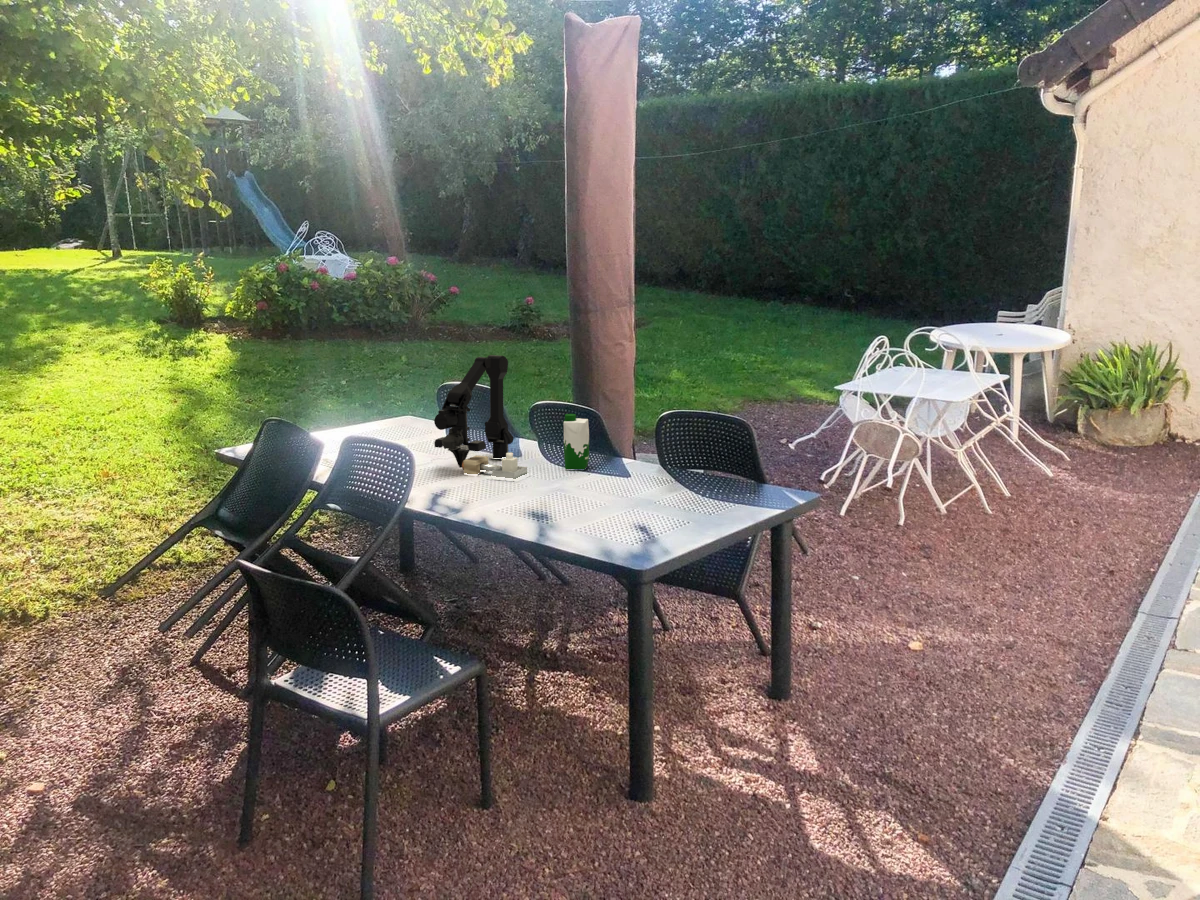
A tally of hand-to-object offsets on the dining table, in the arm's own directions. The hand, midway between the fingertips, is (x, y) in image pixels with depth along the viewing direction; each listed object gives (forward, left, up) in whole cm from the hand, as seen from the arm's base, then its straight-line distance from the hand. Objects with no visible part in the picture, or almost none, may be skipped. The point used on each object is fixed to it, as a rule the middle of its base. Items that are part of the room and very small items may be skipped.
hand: (460, 467), depth 345 cm
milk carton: (-21, +37, -2) cm, 42 cm away
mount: (0, +7, -2) cm, 7 cm away
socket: (0, +21, -2) cm, 21 cm away
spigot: (0, +21, -1) cm, 21 cm away
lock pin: (0, +9, -1) cm, 9 cm away
